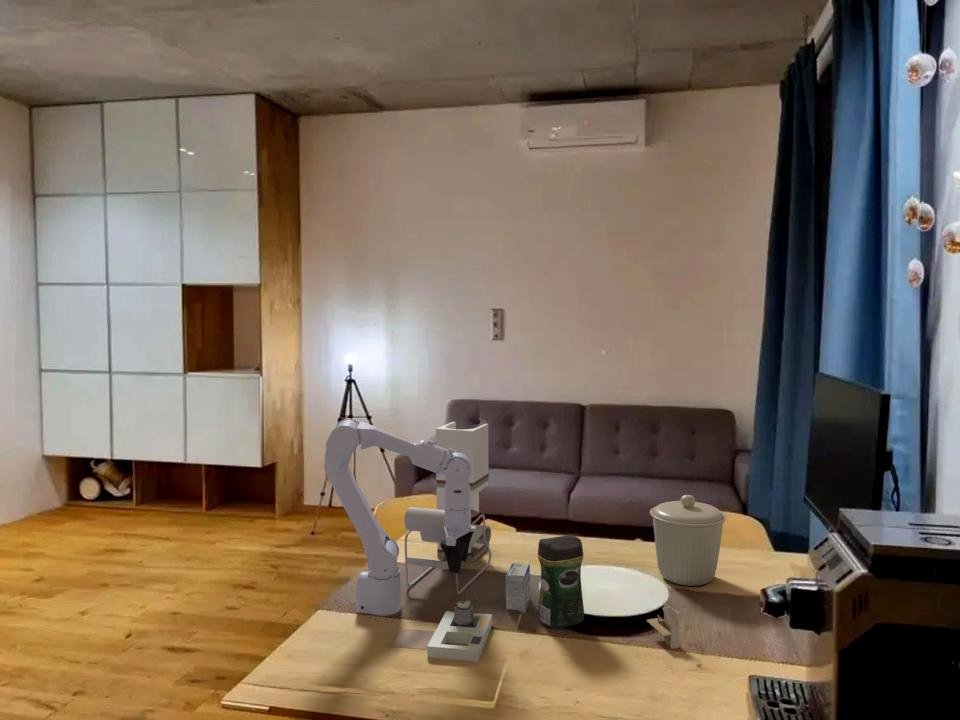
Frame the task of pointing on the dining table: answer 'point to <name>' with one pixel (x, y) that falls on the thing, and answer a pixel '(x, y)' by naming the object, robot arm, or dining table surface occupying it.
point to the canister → (687, 540)
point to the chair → (439, 538)
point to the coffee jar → (560, 581)
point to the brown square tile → (411, 639)
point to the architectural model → (668, 625)
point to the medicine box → (518, 587)
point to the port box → (460, 638)
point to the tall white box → (477, 454)
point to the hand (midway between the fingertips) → (458, 566)
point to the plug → (463, 614)
